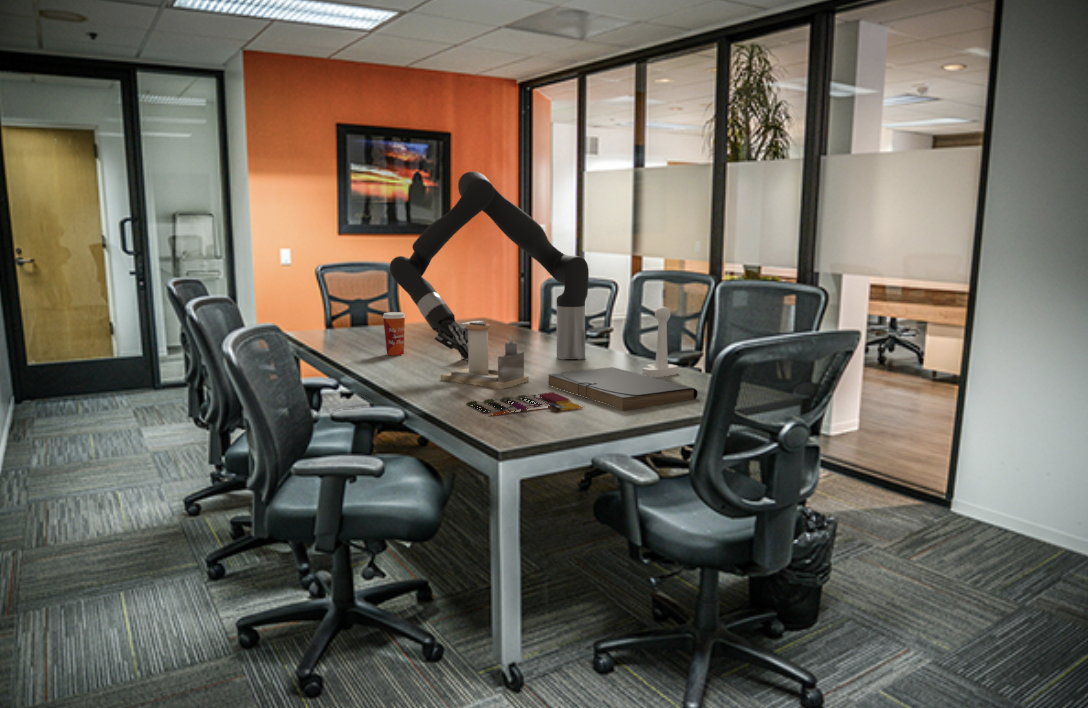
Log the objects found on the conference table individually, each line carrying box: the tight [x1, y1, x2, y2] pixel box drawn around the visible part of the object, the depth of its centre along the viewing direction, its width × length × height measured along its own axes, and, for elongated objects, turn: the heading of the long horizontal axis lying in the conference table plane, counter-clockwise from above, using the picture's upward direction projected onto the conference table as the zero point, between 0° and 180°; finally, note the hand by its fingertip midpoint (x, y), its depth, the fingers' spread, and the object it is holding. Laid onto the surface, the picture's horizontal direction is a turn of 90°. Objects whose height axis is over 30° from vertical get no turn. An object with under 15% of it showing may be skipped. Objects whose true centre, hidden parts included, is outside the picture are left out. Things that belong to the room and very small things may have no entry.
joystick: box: [641, 306, 679, 378], centre depth 221 cm, size 11×8×20 cm
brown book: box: [547, 367, 698, 411], centre depth 200 cm, size 33×4×24 cm
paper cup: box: [382, 311, 406, 356], centre depth 256 cm, size 8×8×14 cm
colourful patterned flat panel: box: [465, 391, 584, 417], centre depth 184 cm, size 25×18×3 cm
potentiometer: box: [504, 335, 518, 355], centre depth 207 cm, size 3×3×5 cm
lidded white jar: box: [466, 321, 491, 375], centre depth 214 cm, size 7×7×14 cm
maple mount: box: [440, 351, 530, 390], centre depth 214 cm, size 22×12×8 cm, turn 55°
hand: (468, 357), depth 216 cm, fingers closed
